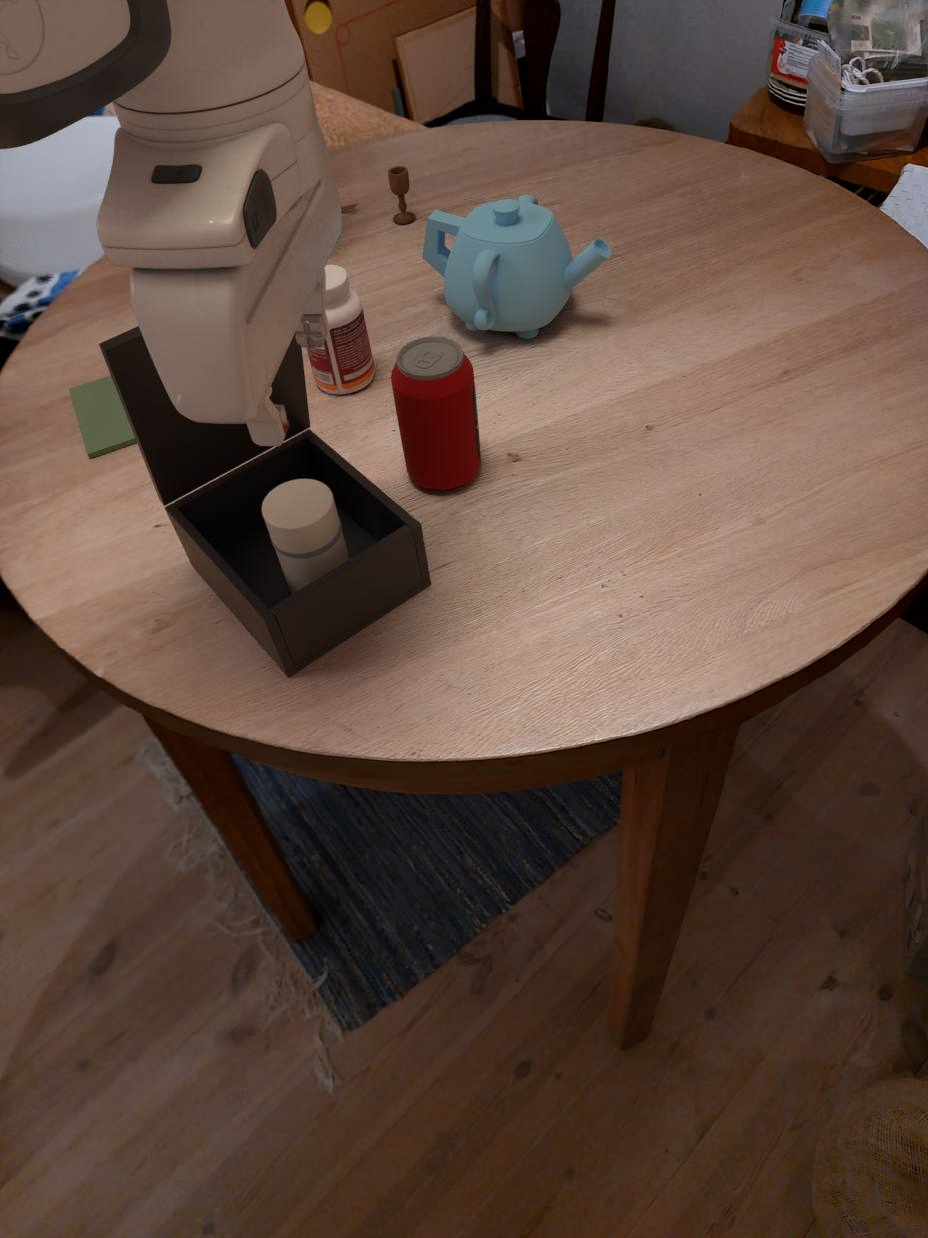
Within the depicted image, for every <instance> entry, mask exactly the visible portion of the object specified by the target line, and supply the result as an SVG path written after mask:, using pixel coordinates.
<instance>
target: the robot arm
mask: <svg viewBox="0 0 928 1238" xmlns="http://www.w3.org/2000/svg"><path fill="white" fill-rule="evenodd" d="M312 91H313V89H312V86H311V79H310V76H309V70H308V66H307V60H306V56H305V51H304V47H303V44H302V42H301V38H300V37H299V34H298V32H297V30H296V28H295V26H294V24H293V21H292V19H291V17H290V14H289V11H288V8H287V4H286V1H285V0H0V150H9V149H15V148H20V147H24V146H28V145H32V144H33V143H37V142H39V141H41V140H43V139H46V138H47V137H50V136H52V135H54V134H56V133H59V132H60V131H62V130H64V129H66V128H68V127H70V126H72V125H73V124H76V123H77V122H79V121H81V120H83V119H85V118H87V117H88V116H90V115H92V114H94V113H96V112H97V111H99V110H100V109H103V108H104V107H106V106H108V105H109V104H111V103H112V104H111V105H112V107H113V110H114V112H115V115H116V118H117V120H118V123H119V125H120V127H118V128H117V129H116V131H115V134H114V138H113V139H114V140H113V142H114V143H113V155H112V156H113V157H112V163H111V168H110V172H109V176H108V181H107V185H106V186H105V187H106V188H105V191H104V194H103V197H102V200H101V204H100V206H99V208H98V209H99V211H98V212H97V217H96V223H95V224H96V225H95V228H96V234H97V238H98V241H99V243H100V246H101V248H102V251H103V252H104V255H105V257H106V258H107V260H108V262H109V263H110V264H111V265H112V266H114V267H121V268H131V269H130V275H129V293H130V294H129V295H130V301H131V305H132V309H133V313H134V316H135V320H136V323H137V326H139V328H140V331H141V333H142V336H143V338H144V341H145V343H146V346H147V348H148V351H149V353H150V355H151V358H152V360H153V362H154V365H155V367H156V369H157V372H158V374H159V376H160V378H161V380H162V383H163V385H164V387H165V389H166V391H167V393H168V395H169V397H170V399H171V401H172V403H173V405H174V406H175V408H176V409H177V410H178V411H179V412H180V413H181V414H182V415H184V416H185V417H187V418H189V419H190V420H192V421H195V422H199V423H215V424H247V427H248V429H249V432H250V435H251V438H252V440H253V442H254V443H255V444H257V445H259V446H275V447H277V446H280V445H282V444H283V443H284V442H285V441H284V438H285V436H286V433H287V430H288V428H289V421H288V420H287V416H286V411H285V408H284V405H277V404H273V403H272V402H271V400H270V398H269V397H270V396H271V393H272V388H271V384H272V382H273V380H274V378H275V375H276V373H277V371H278V369H279V367H280V364H281V362H282V360H283V358H284V356H285V353H286V351H287V349H288V347H289V345H290V343H291V340H292V338H293V336H294V334H295V337H296V341H297V343H298V344H299V345H300V346H301V347H302V348H305V349H307V348H308V347H311V346H313V347H315V348H319V347H321V346H322V345H323V344H324V342H325V339H326V337H327V335H328V332H329V325H328V321H327V316H326V312H325V299H326V273H325V266H326V265H328V264H327V263H328V261H329V259H330V257H331V255H332V253H333V251H334V249H335V246H336V244H337V242H338V240H339V238H340V235H341V232H342V227H343V226H342V220H343V219H342V218H343V217H342V215H343V214H342V212H341V207H342V204H341V199H340V194H339V190H338V187H337V186H338V185H337V182H336V178H335V174H334V169H333V165H332V160H331V159H330V158H331V157H330V153H329V150H328V145H327V141H326V139H325V135H324V132H323V130H322V127H321V124H320V122H319V120H318V116H317V111H316V105H315V100H314V95H313V92H312ZM283 441H284V442H283Z"/></svg>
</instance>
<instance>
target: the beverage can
mask: <svg viewBox="0 0 928 1238" xmlns="http://www.w3.org/2000/svg"><path fill="white" fill-rule="evenodd" d="M390 381H391V383H390V384H391V388H392V394H393V400H394V407H395V412H396V417H397V424H398V429H399V436H400V441H401V447H402V453H403V457H404V463H405V467H406V472H407V475H408V476H409V478H410V479H411V480H412V481H413V482H414V483H415V484H417V485H418V486H421V487H423V488H426V489H429V490H451V489H455V488H458V487H461V486H462V485H465V484H467V483H469V482H470V481H471V480H472V479H473V478H475V477H476V475H477V474H478V472H479V471H480V469H481V465H482V453H481V440H480V427H479V414H478V404H477V402H478V401H477V394H476V393H477V391H476V382H475V372H474V366H473V364H472V362H471V360H470V358H469V357H468V356H467V355H466V354H465V352H464V350H463V347H462V346H461V345H460V343H459V342H457V341H455V340H453V339H452V338H448V337H445V336H424V337H419V338H417V339H414V340H411V341H409V342H407V343H406V344H405V345H403V346H402V347H401V348H399V351H398V352H397V354H396V361H395V364H394V366H393V368H392V370H391V375H390Z"/></svg>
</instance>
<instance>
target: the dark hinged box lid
mask: <svg viewBox="0 0 928 1238" xmlns="http://www.w3.org/2000/svg"><path fill="white" fill-rule="evenodd" d="M98 346H99V348H100V351H101V354H102V357H103V359H104V361H105V364H106V367H107V370H108V372H109V375H111V377H112V380H113V382H114V385H115V387H116V390H117V392H118V395H119V398H120V400H121V403H122V405H123V408H124V410H125V413H126V416H127V418H128V421H129V423H130V426H131V428H132V431H133V433H134V436H135V439H136V441H137V443H136V444H137V446H138V450H139V452H140V454H141V456H142V459H143V462H144V464H145V467H146V469H147V472H148V474H149V478H150V480H151V482H152V485H153V487H154V491H155V492H156V495H157V498H158V500H159V501H160V503H161V504H162V505H163V506H164V507H166V506H168V505H170V504H172V503H174V502H175V501H177V500H179V499H181V498H183V497H184V496H186V495H188V494H190V493H192V492H194V491H195V490H197V489H199V488H201V487H203V486H205V485H207V484H208V483H210V482H212V481H214V480H216V479H218V478H220V477H221V476H223V475H225V474H227V473H229V472H231V471H232V470H234V469H236V468H238V467H240V466H242V465H244V464H245V463H247V462H249V461H251V460H253V459H255V458H256V457H258V456H260V455H262V454H264V453H266V452H268V451H269V450H271V449H273V448H275V447H276V446H259V445H257V444H255V443H254V442H253V440H252V438H251V435H250V432H249V429H248V427H247V424H215V423H199V422H195V421H192V420H190V419H189V418H187V417H185V416H184V415H182V414H181V413H180V412H179V411H178V410H177V409H176V408H175V406H174V405H173V403H172V401H171V399H170V397H169V395H168V393H167V391H166V389H165V387H164V385H163V383H162V380H161V378H160V376H159V374H158V372H157V369H156V367H155V365H154V362H153V360H152V358H151V355H150V353H149V351H148V348H147V346H146V343H145V341H144V338H143V336H142V333H141V331H140V328H139V325H137V326H135V327H133V328H131V329H129V330H127V331H124V332H122V333H120V334H118V335H115V336H112V337H111V338H108V339H106V340H104V341H101V342H100V343H98ZM302 348H303V347H301V346H300V345H299V344H298V343H297V341H296V337H295V334H294V336H293V338H292V340H291V343H290V345H289V347H288V349H287V351H286V353H285V356H284V358H283V360H282V362H281V364H280V367H279V369H278V371H277V373H276V375H275V378H274V380H273V382H272V384H271V388H272V393H271V396H270V397H269V398H270V400H271V402H272V403H273V404H277V405H284V408H285V411H286V416H287V420H288V421H289V428H288V430H287V433H286V436H285V438H284V441H283V443H284V442H286V441H288V440H290V439H292V438H293V437H295V436H297V435H299V434H302V432H304V431H306V430H308V429H310V428H311V419H310V409H309V402H308V392H307V383H306V375H305V374H306V373H305V366H304V357H303V349H302Z"/></svg>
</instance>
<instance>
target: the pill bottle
mask: <svg viewBox="0 0 928 1238" xmlns="http://www.w3.org/2000/svg"><path fill="white" fill-rule="evenodd" d="M325 273H326V299H325V312H326V316H327V321H328V325H329V332H328V335H327V337H326V339H325V342H324V344H323V345H322V346H321V347H319V348H315V347H313V346H311V347H308V348H306V352H307V356H308V359H309V363H310V366H311V367H310V368H311V371H312V375H313V378H314V381H315V383H316V385H317V387H318V388H319V389H321V390H322V391H323V392H325V393H328V394H330V395H349V394H351V393H355V392H358V391H361V390H362V389H364V388H366V387H367V386H368V385H369V384H370V383H371V382H372V381H373V379H374V376H375V374H376V368H375V367H376V366H375V362H374V356H373V354H372V353H373V352H372V347H371V342H370V338H369V333H368V327H367V323H366V318H365V314H364V313H365V312H364V308H363V304H362V300H361V298H360V296H359V294H358V293H357V292H356V291H355V290H354V289H352V288H351V286H350V285H351V284H350V279H349V275H348V273H347V270H346V269H345V268H343V267H342V266H340V265H336V264H326V266H325Z"/></svg>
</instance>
